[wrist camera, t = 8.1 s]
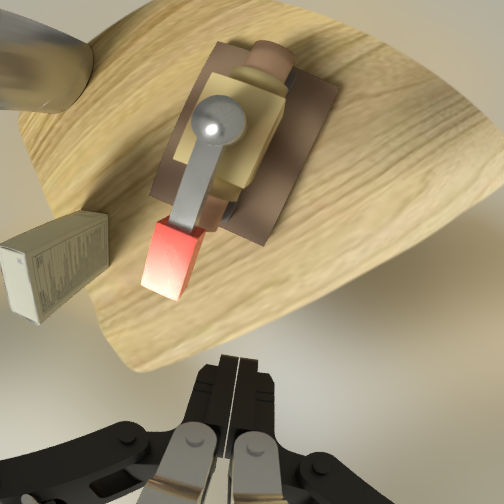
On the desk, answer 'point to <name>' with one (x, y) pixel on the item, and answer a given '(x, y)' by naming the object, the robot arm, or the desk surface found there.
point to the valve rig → (250, 136)
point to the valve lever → (192, 196)
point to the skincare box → (53, 263)
